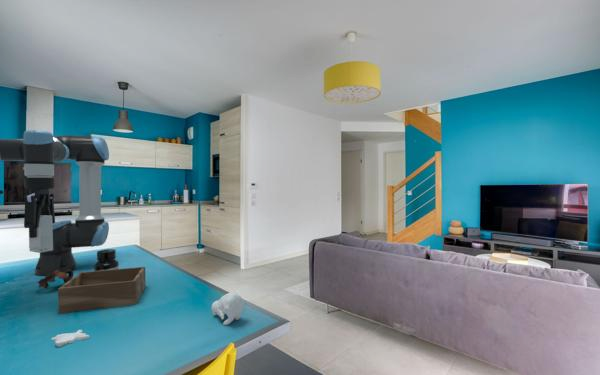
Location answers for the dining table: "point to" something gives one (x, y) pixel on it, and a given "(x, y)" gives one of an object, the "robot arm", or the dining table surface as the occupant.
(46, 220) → the skincare box
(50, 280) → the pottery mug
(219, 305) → the white animal figurine
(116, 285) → the peg box
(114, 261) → the ink bottle
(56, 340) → the acanthus leaf ornament
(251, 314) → the dining table surface
